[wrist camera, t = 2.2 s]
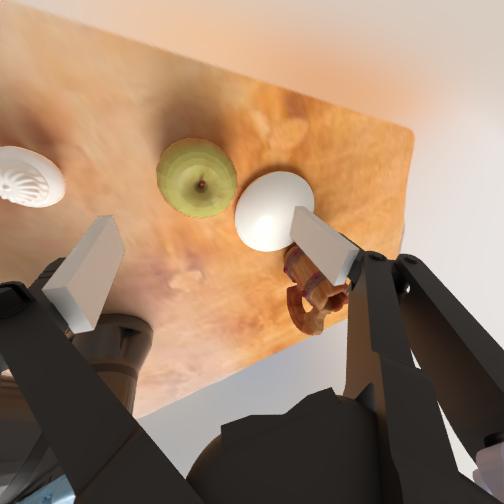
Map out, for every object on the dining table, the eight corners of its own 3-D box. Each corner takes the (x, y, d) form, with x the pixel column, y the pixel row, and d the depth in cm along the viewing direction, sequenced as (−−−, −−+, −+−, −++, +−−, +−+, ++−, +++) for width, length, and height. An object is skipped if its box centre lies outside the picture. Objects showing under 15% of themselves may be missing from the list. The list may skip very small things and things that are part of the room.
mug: (292, 232, 40) (339, 282, 28) (320, 240, 43) (373, 287, 32) (262, 285, 46) (291, 345, 34) (289, 289, 50) (324, 343, 38)
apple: (219, 125, 26) (232, 129, 20) (237, 194, 32) (251, 214, 26) (145, 145, 25) (134, 156, 19) (177, 213, 31) (177, 238, 25)
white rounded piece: (81, 199, 26) (56, 222, 21) (19, 193, 24) (-28, 216, 18) (71, 148, 23) (37, 159, 18) (-3, 135, 21) (-67, 143, 15)
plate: (233, 251, 38) (234, 255, 37) (234, 169, 30) (236, 171, 29) (301, 244, 42) (304, 247, 41) (319, 170, 34) (323, 172, 33)
